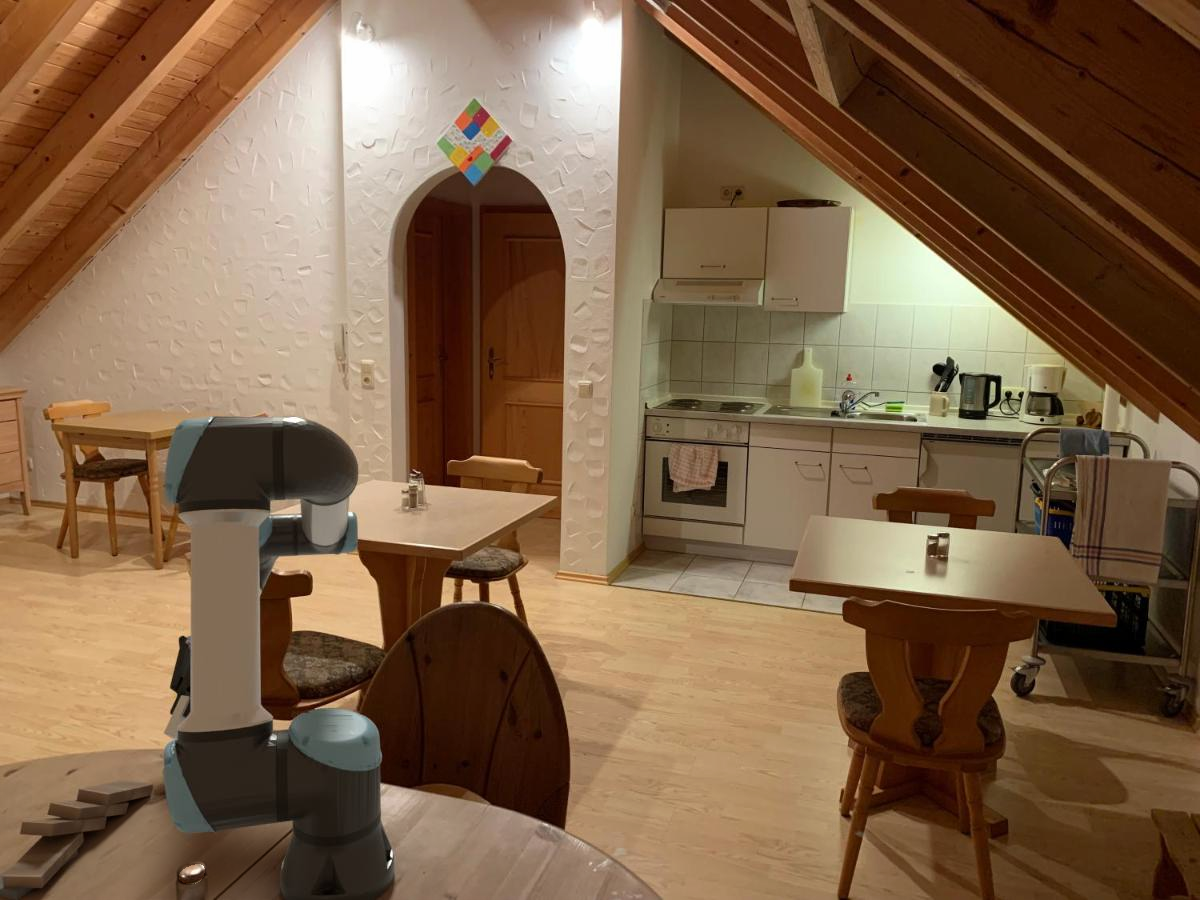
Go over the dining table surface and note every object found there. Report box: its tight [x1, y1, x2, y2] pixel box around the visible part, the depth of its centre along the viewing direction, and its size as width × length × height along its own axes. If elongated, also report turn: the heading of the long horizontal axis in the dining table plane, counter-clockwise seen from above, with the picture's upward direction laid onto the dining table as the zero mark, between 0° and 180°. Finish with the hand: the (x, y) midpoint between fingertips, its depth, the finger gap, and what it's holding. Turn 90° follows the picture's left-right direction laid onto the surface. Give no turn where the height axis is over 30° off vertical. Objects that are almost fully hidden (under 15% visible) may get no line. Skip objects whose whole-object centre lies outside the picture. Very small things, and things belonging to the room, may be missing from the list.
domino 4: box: [46, 799, 129, 820], centre depth 134 cm, size 2×5×10 cm
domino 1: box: [19, 816, 108, 837], centre depth 129 cm, size 2×5×10 cm
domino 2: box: [2, 832, 85, 889], centre depth 124 cm, size 2×5×10 cm
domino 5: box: [76, 779, 154, 806], centre depth 138 cm, size 2×5×10 cm
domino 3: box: [0, 849, 79, 900], centre depth 123 cm, size 2×5×10 cm
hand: (171, 736), depth 149 cm, fingers closed
